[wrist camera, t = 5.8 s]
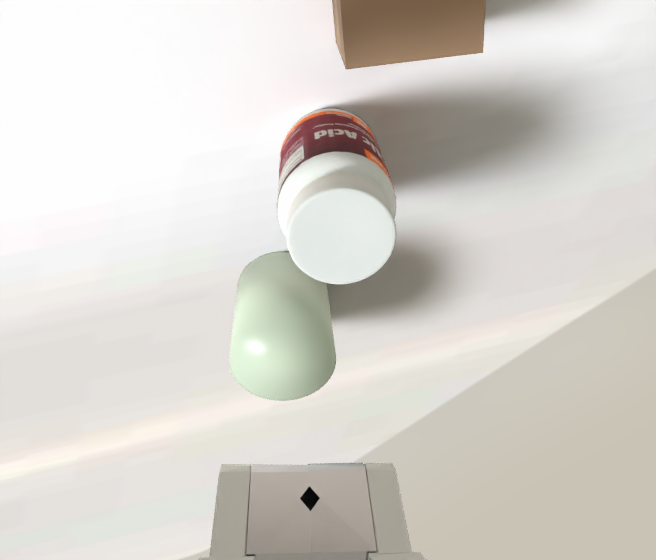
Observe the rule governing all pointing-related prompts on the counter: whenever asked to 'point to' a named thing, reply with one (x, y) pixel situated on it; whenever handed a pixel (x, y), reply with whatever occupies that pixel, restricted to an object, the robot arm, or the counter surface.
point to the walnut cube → (406, 30)
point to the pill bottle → (335, 198)
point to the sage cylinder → (281, 330)
